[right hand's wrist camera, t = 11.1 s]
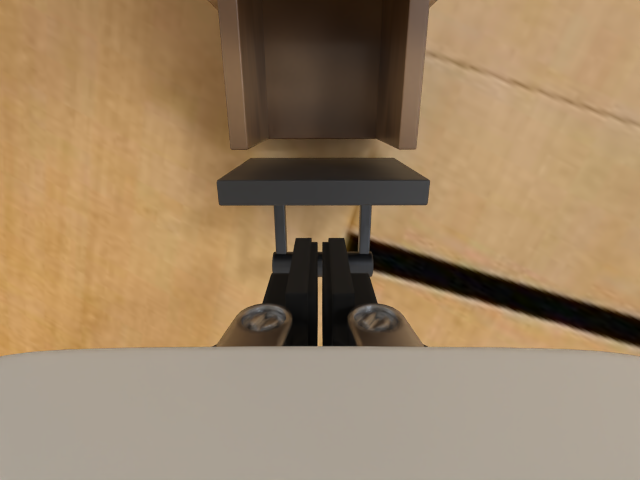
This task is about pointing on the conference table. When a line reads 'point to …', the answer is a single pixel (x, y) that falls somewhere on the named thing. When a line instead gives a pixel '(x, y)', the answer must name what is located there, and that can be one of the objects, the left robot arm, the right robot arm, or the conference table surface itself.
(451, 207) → the conference table surface
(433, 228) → the conference table surface
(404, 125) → the drawer
